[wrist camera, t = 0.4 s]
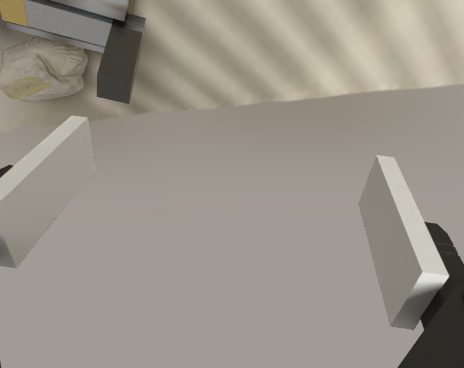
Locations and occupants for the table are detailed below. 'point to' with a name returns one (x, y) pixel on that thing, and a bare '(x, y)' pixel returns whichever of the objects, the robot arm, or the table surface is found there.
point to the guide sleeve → (104, 3)
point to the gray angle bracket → (88, 38)
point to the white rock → (42, 70)
